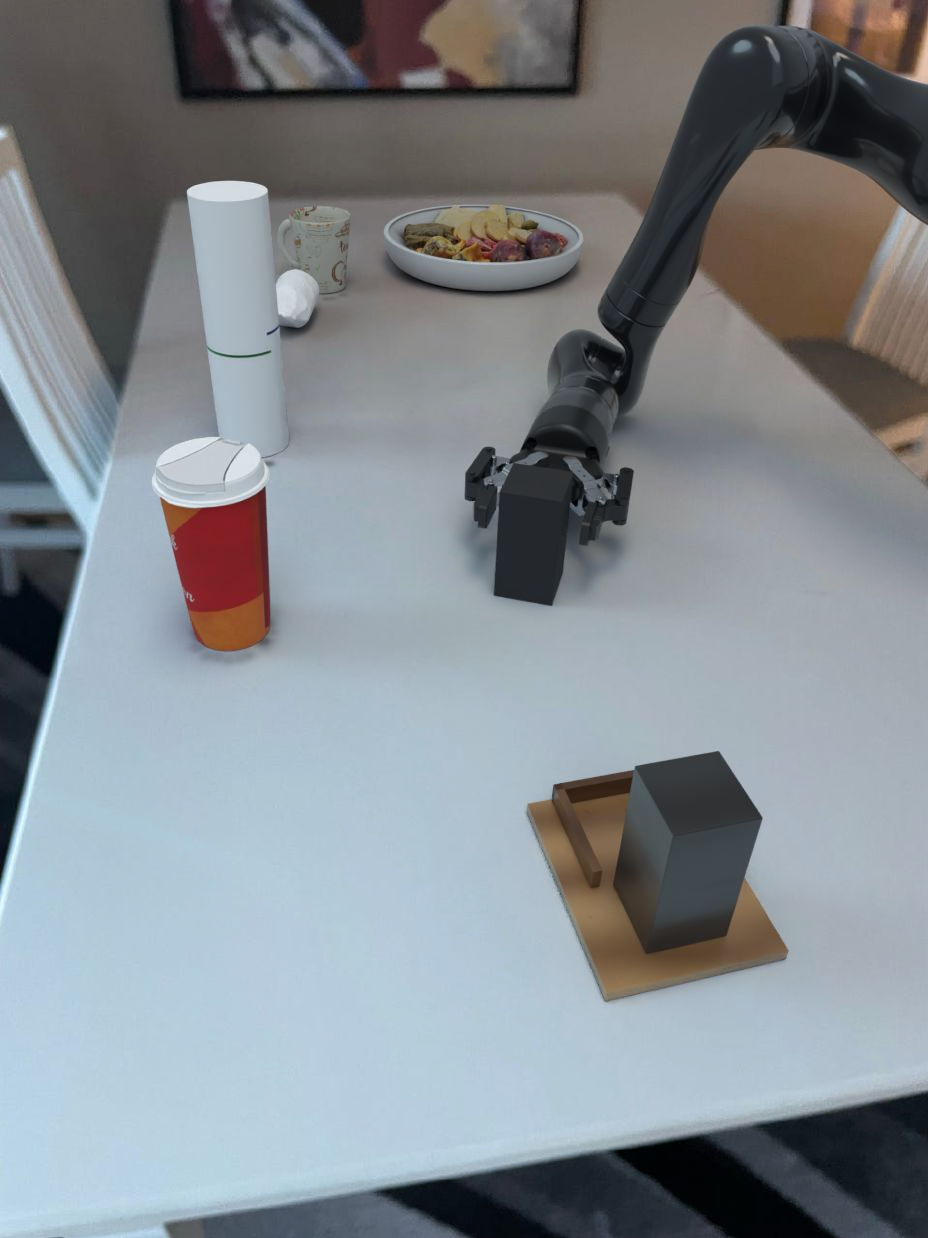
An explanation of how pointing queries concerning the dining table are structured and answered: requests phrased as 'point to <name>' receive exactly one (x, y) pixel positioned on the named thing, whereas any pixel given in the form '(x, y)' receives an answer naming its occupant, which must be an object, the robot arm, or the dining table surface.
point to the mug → (319, 244)
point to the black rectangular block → (532, 533)
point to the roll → (296, 297)
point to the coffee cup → (219, 537)
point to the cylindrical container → (240, 311)
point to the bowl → (483, 246)
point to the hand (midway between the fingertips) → (532, 527)
